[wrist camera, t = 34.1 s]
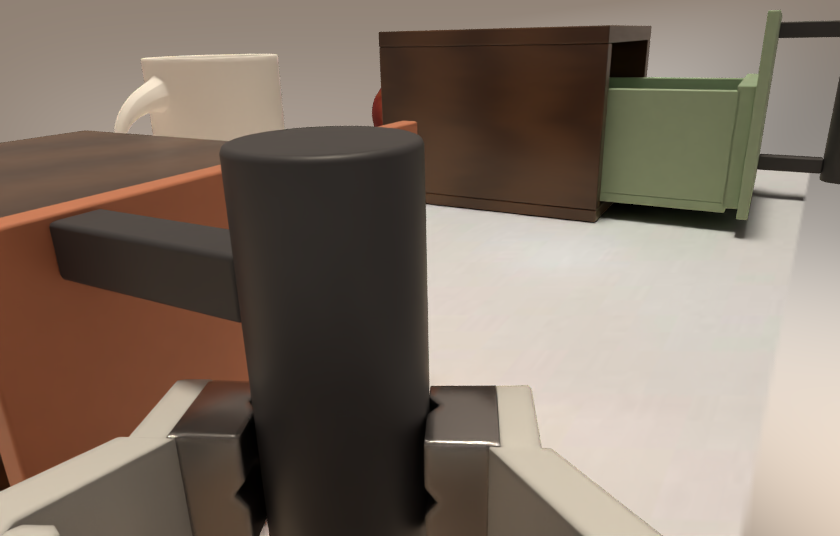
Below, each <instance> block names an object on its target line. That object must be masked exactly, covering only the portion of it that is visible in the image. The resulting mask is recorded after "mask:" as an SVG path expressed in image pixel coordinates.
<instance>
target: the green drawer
mask: <svg viewBox="0 0 840 536" xmlns="http://www.w3.org/2000/svg"><path fill="white" fill-rule="evenodd" d="M781 20H782V13H781V10H773V11H768V16H767V22H766V29H765V35H764V42H763V48H762V55H761V61H760V67H759V74H747V76H746V77H745V78H654V77H651V78H650V77H648V78H647V77H609V89H608V102H607V114H606V127H605V140H604V153H603V166H602V179H601V191H600V201H606V202H617V203H627V204H637V205H648V206H658V207H668V208H679V209H689V210H700V211H710V212H720V213H724V212H725V209H726V208H731V209H737V215H736V219H740V220H747V219H748V214H749V209H750V204H751V198H752V193H753V188H754V183H755V178H756V173H757V169H759V170H774V171H789V172H804V173H821V174H820V180H821V181H824V182H828V183H835V184H840V78H839V83H838V88H837V93H836V98H835V104H834V108H833V113H832V118H831V123H830V128H829V133H828V138H827V143H826V148H825V154H824V159H823V158H822V157H808V156H806V157H805V156H789V155H772V154H760V149H761V142H762V136H763V130H764V124H765V118H766V112H767V106H768V99H769V93H770V87H771V81H772V75H773V68H774V63H775V57H776V50H777V44H778V38H799V37H800V38H803V37H840V21H804V22H781Z"/></svg>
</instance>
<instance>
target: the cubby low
mask: <svg viewBox="0 0 840 536" xmlns="http://www.w3.org/2000/svg"><path fill="white" fill-rule="evenodd" d="M226 142H228V141H221V140H208V139H194V138H180V137H167V136H153V135H139V134H126V133H111V132H97V131H78V132H72V133H65V134H58V135H51V136H44V137H37V138H31V139H24V140H17V141H10V142H3V143H0V218H1V217H5V216H10V215H14V214H18V213H22V212H26V211H30V210H34V209H39V208H43V207H47V206H51V205H55V204H59V203H63V202H68V201H72V200H76V199H80V198H84V197H88V196H92V195H97V194H101V193H105V192H109V191H113V190H117V189H121V188H126V187H130V186H134V185H138V184H142V183H146V182H150V181H155V180H159V179H163V178H167V177H171V176H175V175H179V174H184V173H188V172H192V171H196V170H200V169H204V168H208V167H213V166H217V165H221V164H220V157H219V152H220V149H221V146H222V145H223V144H224V143H226ZM9 487H10V484H9V481H8V477H7V474H6V471H5V467H4V464H3V461H2V457H1V454H0V491H3V490H5V489H7V488H9Z"/></svg>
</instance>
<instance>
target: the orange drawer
mask: <svg viewBox="0 0 840 536" xmlns="http://www.w3.org/2000/svg"><path fill="white" fill-rule="evenodd" d="M219 157H220V164H221V165H217V166H213V167H208V168H204V169H200V170H196V171H192V172H188V173H184V174H179V175H175V176H171V177H167V178H163V179H159V180H155V181H150V182H146V183H142V184H138V185H134V186H130V187H126V188H121V189H117V190H113V191H109V192H105V193H101V194H97V195H92V196H88V197H84V198H80V199H76V200H72V201H68V202H63V203H59V204H55V205H51V206H47V207H43V208H39V209H34V210H30V211H26V212H22V213H18V214H14V215H10V216H5V217H1V218H0V454H1V457H2V461H3V464H4V467H5V471H6V474H7V477H8V481H9V484H10V487H11V486H13V485H15V484H18V483H20V482H22V481H24V480H26V479H28V478H31V477H33V476H35V475H37V474H39V473H41V472H44V471H46V470H48V469H50V468H52V467H54V466H56V465H59V464H61V463H63V462H65V461H67V460H69V459H72V458H74V457H76V456H78V455H80V454H82V453H85V452H87V451H89V450H91V449H93V448H95V447H98V446H100V445H102V444H104V443H106V442H108V441H110V440H113V439H115V438H117V437H129V436H130V435H131V434H132V432H133V431H134V430H135V429H136V428H137V427H138V425H139V424H140V423H141V422H142V421H143V420H144V418H145V417H146V416H147V415H148V414H149V413H150V412H151V410H152V409H153V408H154V407H155V406H156V405H157V403H158V402H159V401H160V400H161V399H162V398H163V396H164V395H165V394H166V393H167V392H168V391H169V390H170V388H171V387H172V386H173V385H174V384H175V383H176V382H177V381H178V380H184V379H211V380H228V381H249V384H250V391H251V399H252V407H253V414H254V422H255V429H256V437H257V444H258V452H259V460H260V467H261V475H262V482H263V490H264V497H265V505H266V513H267V520H268V528H269V535H270V536H426V519H425V515H426V503H427V492H428V491H427V490H426V488H425V473H424V440H425V431H426V421H427V415H428V414H429V413H430V400H429V350H428V299H427V249H426V199H425V148H424V142H423V139H422V137H421V136H419V135H418V134H417V122H415V121H399V122H395V123H391V124H387V125H383V126H378V127H371V126H326V127H306V128H293V129H283V130H275V131H267V132H261V133H255V134H250V135H246V136H242V137H238V138H235V139H233V140H231V141H228V142H226V143H224V144H223V145H222V146H221V149H220V152H219Z"/></svg>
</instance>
